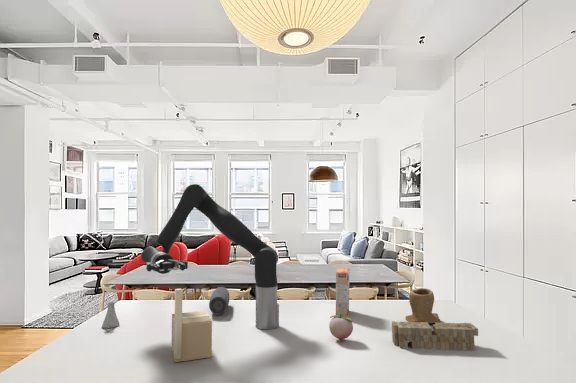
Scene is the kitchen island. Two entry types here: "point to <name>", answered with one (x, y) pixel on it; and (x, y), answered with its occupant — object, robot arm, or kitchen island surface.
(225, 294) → the bluetooth speaker
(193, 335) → the beige l-shaped piece
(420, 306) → the stone cup
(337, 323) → the decorative fruit
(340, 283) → the cracker box
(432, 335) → the block tower
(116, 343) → the kitchen island surface
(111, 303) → the flask
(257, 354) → the kitchen island surface
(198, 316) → the brown carton
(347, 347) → the kitchen island surface
